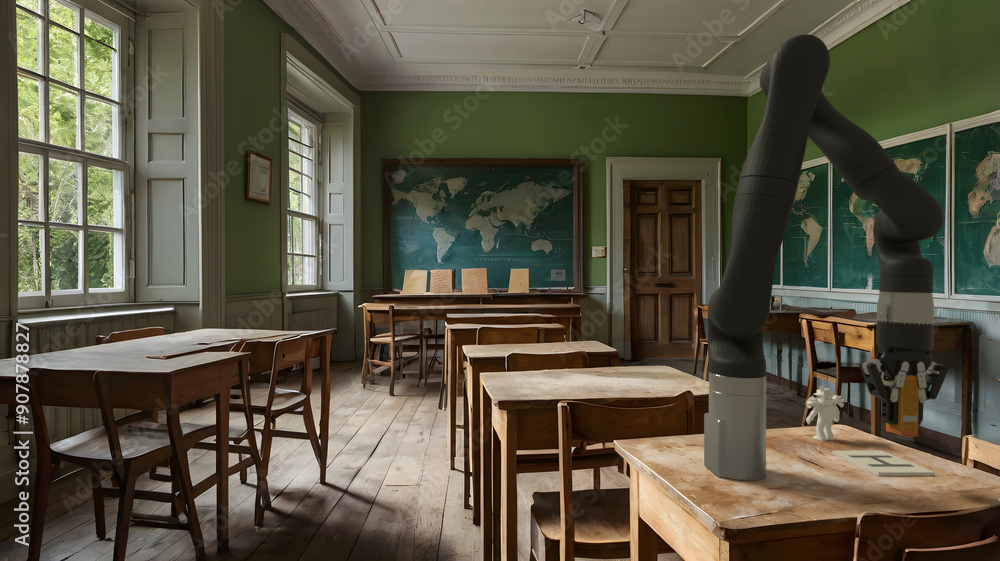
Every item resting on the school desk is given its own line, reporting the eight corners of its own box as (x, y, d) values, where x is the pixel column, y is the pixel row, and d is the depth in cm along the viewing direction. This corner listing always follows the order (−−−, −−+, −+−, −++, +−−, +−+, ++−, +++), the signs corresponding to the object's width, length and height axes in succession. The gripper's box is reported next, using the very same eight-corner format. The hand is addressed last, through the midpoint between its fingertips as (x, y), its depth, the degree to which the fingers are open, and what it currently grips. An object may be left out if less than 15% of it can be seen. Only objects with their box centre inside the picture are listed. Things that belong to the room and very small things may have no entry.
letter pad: (878, 475, 90) (878, 472, 90) (832, 453, 102) (832, 450, 102) (934, 475, 90) (934, 472, 90) (882, 453, 102) (882, 450, 102)
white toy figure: (815, 443, 109) (815, 386, 109) (800, 438, 113) (800, 382, 113) (848, 440, 112) (848, 384, 112) (832, 435, 115) (832, 381, 116)
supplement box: (920, 436, 85) (920, 375, 85) (901, 437, 84) (901, 375, 84) (903, 430, 88) (903, 371, 88) (884, 431, 88) (884, 372, 88)
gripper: (880, 320, 82) (877, 429, 82) (966, 323, 83) (964, 431, 82) (847, 317, 90) (844, 417, 90) (926, 319, 90) (924, 419, 90)
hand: (901, 423), depth 86 cm, fingers closed on supplement box, 3 cm apart
